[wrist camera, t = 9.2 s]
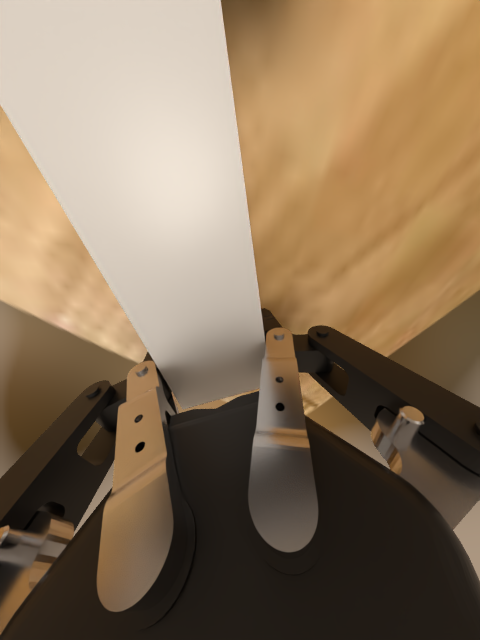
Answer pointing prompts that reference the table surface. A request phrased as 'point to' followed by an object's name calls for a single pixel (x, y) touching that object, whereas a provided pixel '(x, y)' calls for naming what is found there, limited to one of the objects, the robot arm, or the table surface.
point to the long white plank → (146, 171)
